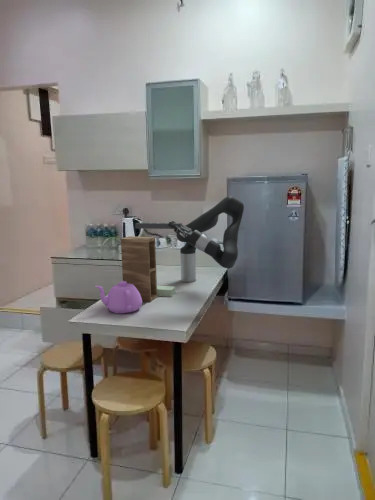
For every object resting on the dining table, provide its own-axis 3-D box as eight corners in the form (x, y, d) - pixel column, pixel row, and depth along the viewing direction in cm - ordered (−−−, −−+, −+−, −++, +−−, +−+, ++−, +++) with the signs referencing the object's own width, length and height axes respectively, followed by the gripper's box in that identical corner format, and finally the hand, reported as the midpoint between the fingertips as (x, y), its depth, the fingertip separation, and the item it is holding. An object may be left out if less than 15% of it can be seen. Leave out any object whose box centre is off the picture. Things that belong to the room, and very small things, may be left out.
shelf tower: (131, 294, 211) (128, 236, 205) (157, 297, 206) (155, 237, 200) (123, 299, 202) (120, 238, 197) (150, 302, 197) (147, 239, 192)
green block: (148, 291, 218) (148, 284, 217) (175, 293, 212) (175, 286, 212) (143, 294, 211) (143, 288, 210) (171, 296, 206) (171, 290, 205)
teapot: (92, 306, 192) (90, 279, 189) (135, 300, 200) (134, 274, 198) (101, 321, 172) (99, 290, 169) (148, 313, 180) (147, 284, 178)
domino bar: (137, 227, 199) (137, 222, 199) (181, 228, 191) (181, 222, 191) (135, 228, 197) (135, 223, 196) (180, 229, 189) (180, 223, 188)
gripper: (207, 232, 193) (178, 215, 197) (199, 236, 180) (168, 217, 184) (200, 245, 196) (171, 227, 199) (191, 249, 183) (161, 231, 186)
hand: (170, 223), depth 191 cm, fingers closed on domino bar, 2 cm apart
